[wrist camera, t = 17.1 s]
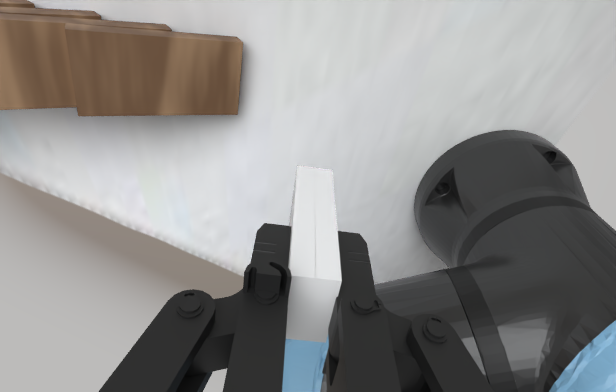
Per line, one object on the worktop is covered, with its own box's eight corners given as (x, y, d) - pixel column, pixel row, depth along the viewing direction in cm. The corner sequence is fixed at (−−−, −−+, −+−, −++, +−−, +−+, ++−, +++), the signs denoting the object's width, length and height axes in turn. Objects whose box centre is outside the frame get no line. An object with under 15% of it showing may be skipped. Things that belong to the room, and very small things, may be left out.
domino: (171, 29, 30) (-28, 17, 24) (172, 103, 33) (-3, 109, 27) (165, 24, 31) (-26, 11, 25) (167, 96, 34) (-2, 100, 28)
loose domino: (231, 106, 35) (78, 106, 30) (236, 36, 32) (65, 23, 26) (237, 114, 34) (78, 116, 28) (243, 42, 30) (64, 29, 25)
